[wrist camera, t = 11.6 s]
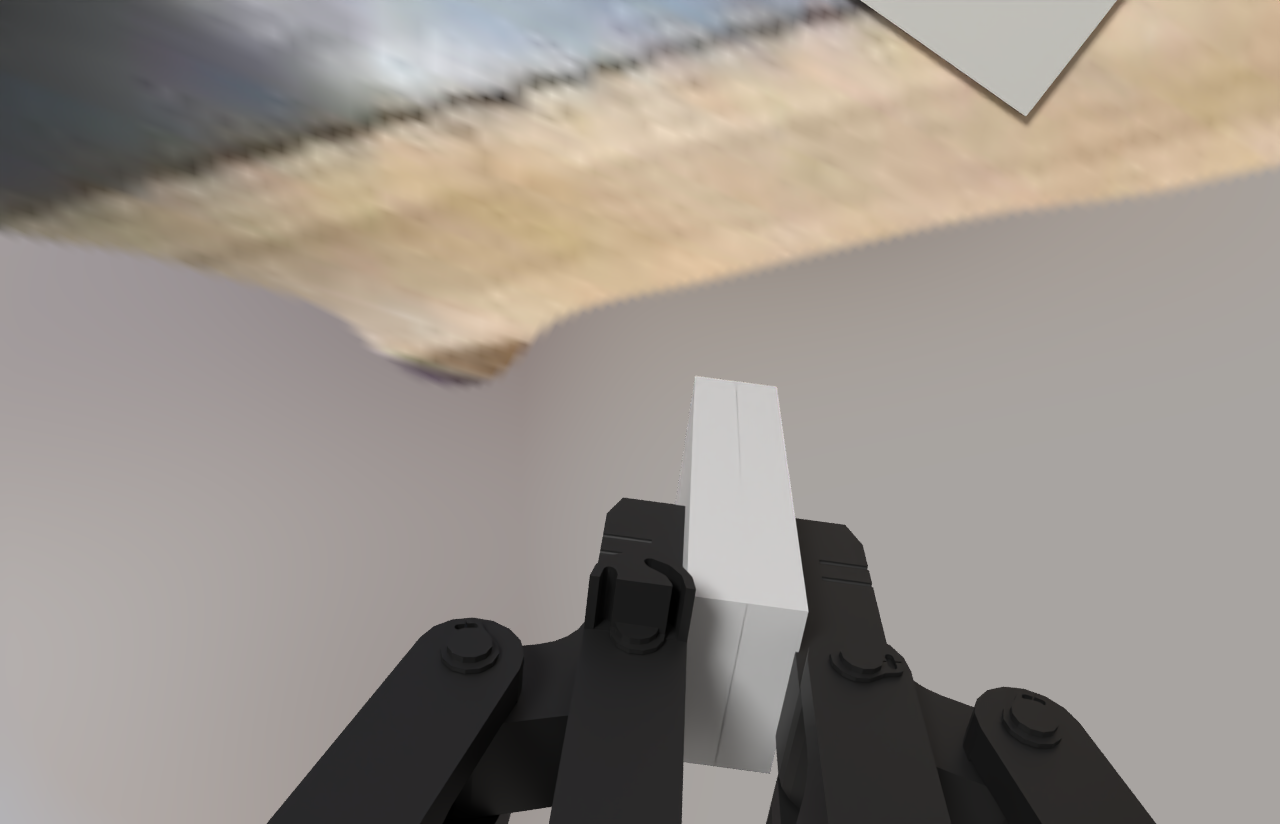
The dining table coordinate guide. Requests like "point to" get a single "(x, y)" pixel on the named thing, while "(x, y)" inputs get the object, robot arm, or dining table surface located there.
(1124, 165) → the dining table surface
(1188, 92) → the dining table surface
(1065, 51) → the felt mat
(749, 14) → the dining table surface
